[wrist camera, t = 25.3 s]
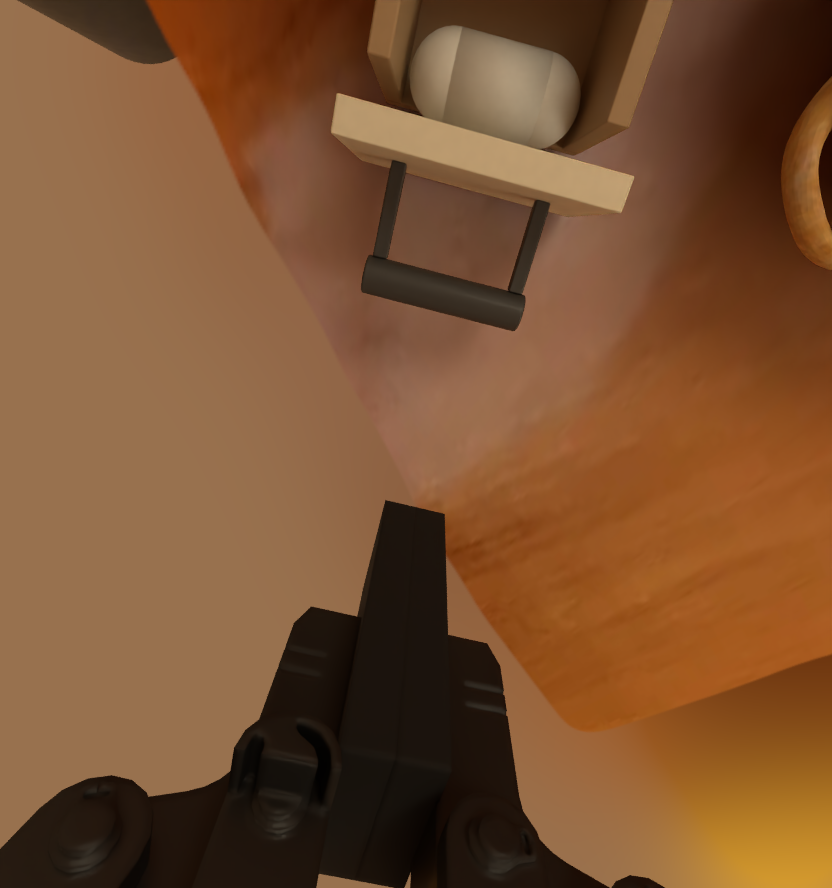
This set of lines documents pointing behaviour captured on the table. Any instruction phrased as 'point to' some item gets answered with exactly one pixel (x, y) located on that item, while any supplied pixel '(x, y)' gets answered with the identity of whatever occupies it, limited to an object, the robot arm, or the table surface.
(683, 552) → the table surface
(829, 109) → the ceramic bowl
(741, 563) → the table surface
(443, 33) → the capsule
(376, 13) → the drawer
